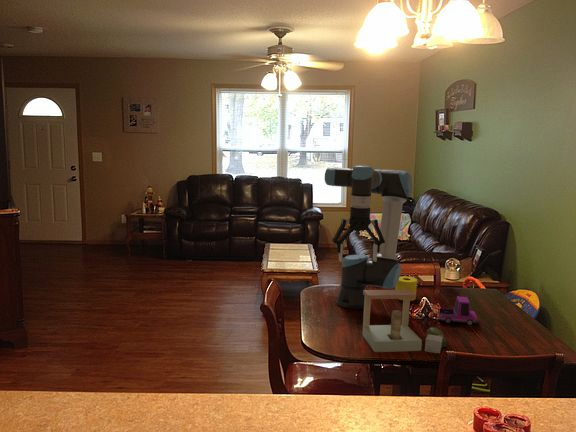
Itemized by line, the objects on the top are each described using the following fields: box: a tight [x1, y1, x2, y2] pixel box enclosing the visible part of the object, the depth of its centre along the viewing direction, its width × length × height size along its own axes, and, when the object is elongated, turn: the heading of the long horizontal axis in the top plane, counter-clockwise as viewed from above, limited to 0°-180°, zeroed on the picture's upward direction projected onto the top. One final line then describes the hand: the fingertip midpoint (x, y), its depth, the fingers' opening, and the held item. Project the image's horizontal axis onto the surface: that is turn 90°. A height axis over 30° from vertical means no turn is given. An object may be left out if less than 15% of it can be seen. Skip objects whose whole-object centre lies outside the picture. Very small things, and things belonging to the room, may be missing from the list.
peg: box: [390, 309, 402, 340], centre depth 196 cm, size 4×4×14 cm
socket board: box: [361, 324, 423, 353], centre depth 200 cm, size 16×18×4 cm
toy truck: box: [437, 295, 478, 326], centre depth 226 cm, size 11×16×10 cm
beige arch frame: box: [362, 289, 417, 328], centre depth 204 cm, size 6×19×14 cm, turn 98°
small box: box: [424, 334, 443, 354], centre depth 195 cm, size 6×6×5 cm
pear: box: [425, 326, 448, 348], centre depth 202 cm, size 6×5×10 cm
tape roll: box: [394, 275, 418, 302], centre depth 255 cm, size 10×10×9 cm
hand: (357, 261), depth 201 cm, fingers open, 13 cm apart
